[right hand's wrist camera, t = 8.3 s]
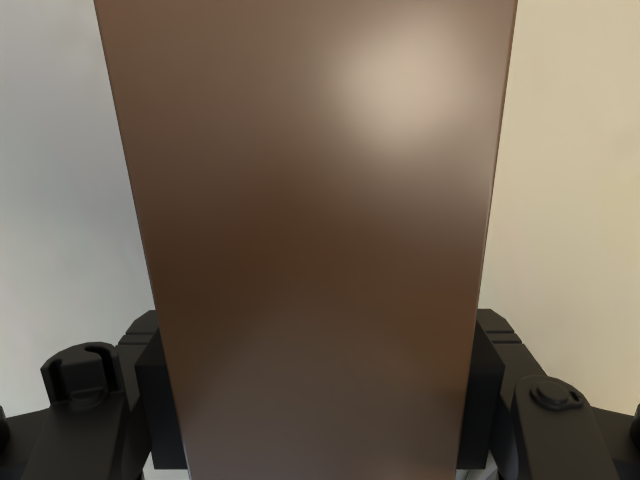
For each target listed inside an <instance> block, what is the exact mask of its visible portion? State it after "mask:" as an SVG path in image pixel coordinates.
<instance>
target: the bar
mask: <svg viewBox="0 0 640 480" xmlns="http://www.w3.org/2000/svg"><path fill="white" fill-rule="evenodd" d="M93 1H94V5H95V10H96V15H97V20H98V25H99V30H100V35H101V40H102V45H103V50H104V55H105V60H106V65H107V70H108V75H109V80H110V85H111V90H112V95H113V100H114V105H115V110H116V115H117V120H118V125H119V130H120V135H121V140H122V145H123V150H124V155H125V160H126V165H127V170H128V175H129V180H130V185H131V190H132V195H133V200H134V204H135V209H136V214H137V219H138V224H139V229H140V234H141V239H142V244H143V249H144V254H145V259H146V264H147V269H148V274H149V279H150V284H151V289H152V294H153V299H154V304H155V309H156V314H157V319H158V324H159V329H160V334H161V339H162V344H163V349H164V354H165V359H166V364H167V369H168V374H169V379H170V384H171V389H172V394H173V399H174V403H175V408H176V413H177V418H178V423H179V428H180V433H181V438H182V443H183V448H184V453H185V458H186V463H187V468H188V473H189V478H190V480H455V476H456V468H457V460H458V453H459V445H460V438H461V430H462V422H463V415H464V407H465V399H466V392H467V384H468V377H469V369H470V361H471V354H472V346H473V338H474V331H475V323H476V316H477V308H478V300H479V293H480V285H481V277H482V270H483V262H484V255H485V247H486V239H487V232H488V224H489V217H490V209H491V201H492V194H493V186H494V178H495V171H496V163H497V156H498V148H499V140H500V133H501V125H502V117H503V110H504V102H505V95H506V87H507V79H508V72H509V64H510V56H511V49H512V41H513V34H514V26H515V18H516V11H517V3H518V0H93Z"/></svg>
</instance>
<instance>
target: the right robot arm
mask: <svg viewBox="0 0 640 480" xmlns="http://www.w3.org/2000/svg"><path fill="white" fill-rule="evenodd" d="M40 370H41V374H42V377H43V380H44V384H45V387H46V390H47V394H48V397H49V401H50V404H51V405H50V407H49V408H47V409H44V410H40V411H36V412H32V413H27V414H22V415H18V416H13V417H9V418H6V417H5V414H4V411H3V408H2V406H0V480H145V479H144V473H143V467H144V465H145V462H146V460H147V458H148V456H149V453H150V451H151V454H152V460H153V465H154V469H188V468H187V463H186V458H185V453H184V448H183V443H182V438H181V433H180V428H179V423H178V418H177V413H176V408H175V403H174V399H173V394H172V389H171V384H170V379H169V374H168V369H167V364H166V359H165V354H164V349H163V344H162V339H161V334H160V329H159V324H158V319H157V314H156V310H149V311H148V312H146V313H145V314H143V315H142V316H140V317H139V318H137V319H136V320H135V321H134V322H133V323H132V325H131V326H130V327H129V329H128V330H127V331H126V334H125V335H123V337H122V338H121V339H120V341H119V342H118V345H116V346H115V347H114V346H113V345H112V344H108V343H104V342H87V343H83V344H79V345H75V346H72V347H69V348H67V349H65V350H62V351H60V352H58V353H57V354H55V355H54V356H52V357H51V358H50V359H48V360H47V361H46V362H45V364H44V365H43V366H42V367H41V369H40ZM456 469H471V470H470V472H469V473H468V475H467V477H466V479H465V480H640V404H639V405H638V407H637V410H636V413H635V415H634V416H630V415H626V414H621V413H617V412H612V411H607V410H603V409H599V408H595V407H592V406H590V404H589V403H588V401H587V400H586V398H585V397H584V395H583V394H582V393H580V392H579V391H578V390H577V389H575V388H574V387H573V386H571V385H569V384H567V383H565V382H563V381H561V380H559V379H556V378H553V377H549V376H547V374H546V373H545V372H544V370H543V369H542V368H541V366H540V365H539V364H538V362H537V361H536V360H535V358H534V357H533V356H532V354H531V353H530V352H529V350H528V349H527V348H526V346H525V345H524V344H522V341H521V339H520V338H519V337H518V335H517V334H515V333H514V330H513V329H512V327H511V326H510V325H509V323H508V322H507V321H506V319H504V318H503V317H501V316H500V315H498V314H497V313H496V312H494V311H493V310H491V309H477V316H476V323H475V331H474V338H473V346H472V354H471V361H470V369H469V377H468V384H467V392H466V399H465V407H464V415H463V422H462V430H461V438H460V445H459V453H458V460H457V468H456Z"/></svg>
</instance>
